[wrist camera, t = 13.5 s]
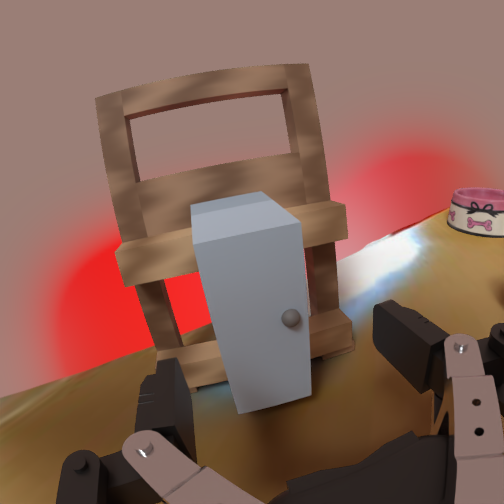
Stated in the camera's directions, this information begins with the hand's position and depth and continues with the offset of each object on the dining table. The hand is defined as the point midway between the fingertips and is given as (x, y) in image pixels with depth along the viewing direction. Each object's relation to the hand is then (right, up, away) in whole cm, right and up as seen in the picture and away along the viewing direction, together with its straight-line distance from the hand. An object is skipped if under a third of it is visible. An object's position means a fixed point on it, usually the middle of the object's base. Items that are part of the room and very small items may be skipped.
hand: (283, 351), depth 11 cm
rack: (-1, -6, +16) cm, 17 cm away
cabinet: (0, -5, +10) cm, 12 cm away
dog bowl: (+47, +9, +38) cm, 61 cm away
